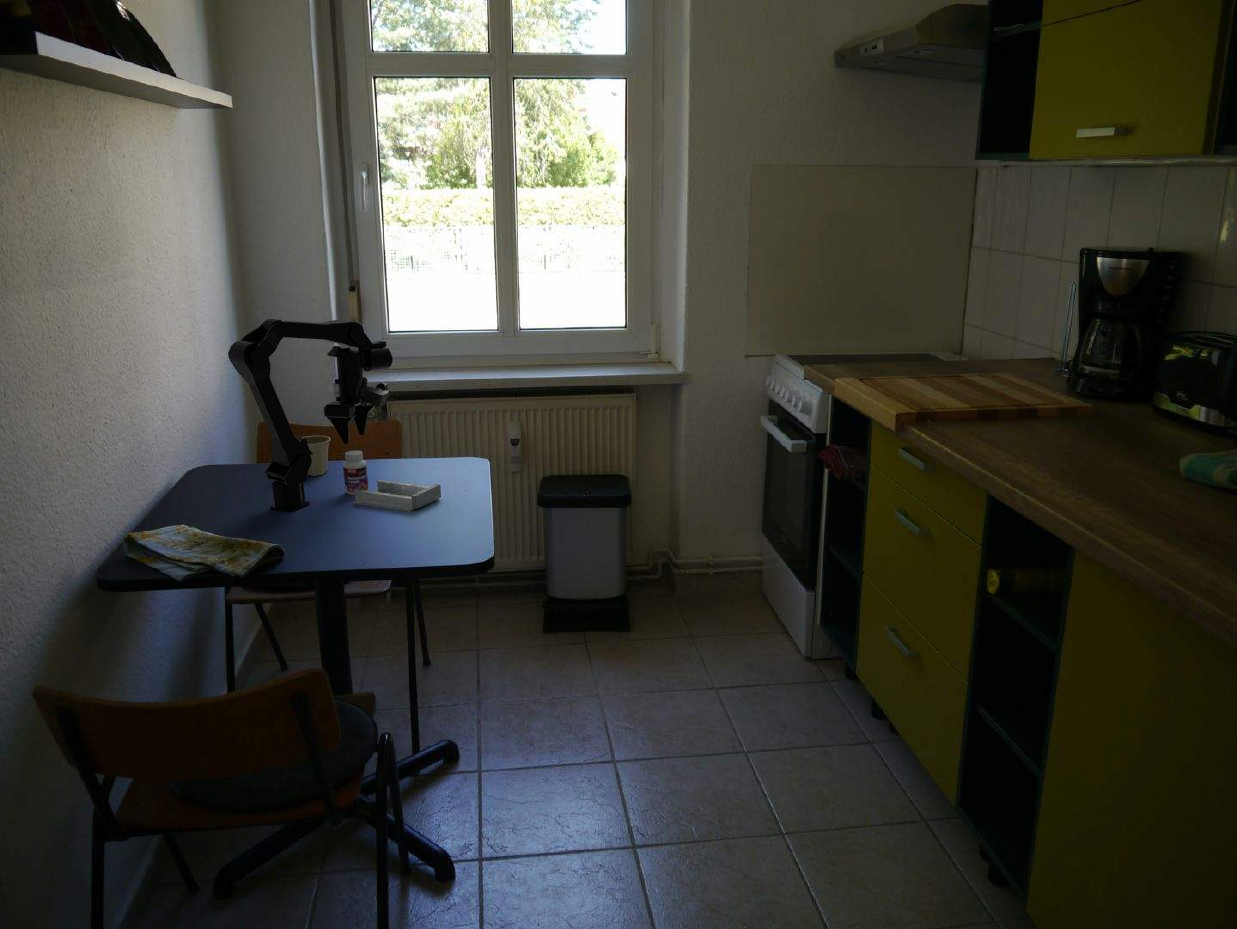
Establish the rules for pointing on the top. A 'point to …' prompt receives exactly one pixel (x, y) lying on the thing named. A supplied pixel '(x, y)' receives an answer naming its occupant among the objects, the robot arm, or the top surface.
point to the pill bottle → (355, 472)
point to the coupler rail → (398, 495)
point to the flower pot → (318, 454)
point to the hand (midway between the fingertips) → (354, 439)
